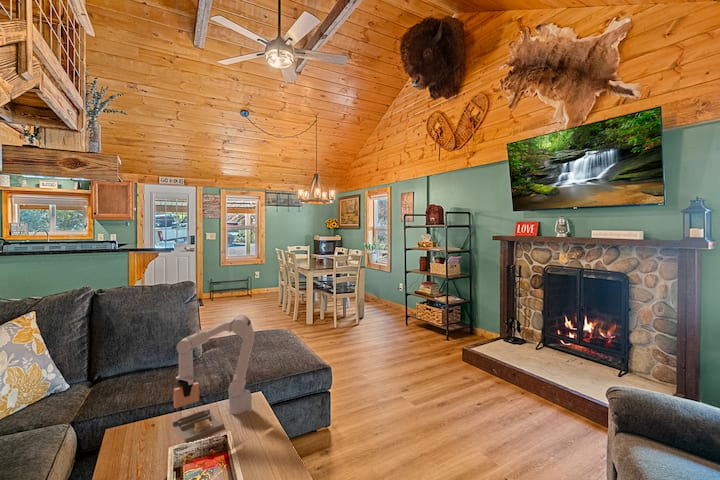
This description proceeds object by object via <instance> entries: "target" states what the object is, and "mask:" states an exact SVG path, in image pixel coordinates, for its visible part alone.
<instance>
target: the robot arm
mask: <svg viewBox="0 0 720 480" xmlns="http://www.w3.org/2000/svg"><path fill="white" fill-rule="evenodd" d="M253 328H254V327H253V325H252V321H251V320H250V319H249V317H248V316H247V315H243V314H240V315H238V316H237V317H233V318H230V319H228V320H225V321H224V322H222V323H220V324H218V325H216V326H214V327H212V328H211V329H208V330H206V329H202V330H201V329H199V330H197V331H196V333H194V334H191V335H188V336H186V337H184V338H183V339H180V341H179V342H178V343H177V345H176V348H175V349H176V351H177V353H178V376H175V380H176V381H177V382H178V384H179V387H182V388H183V394H184V397H187V396H190V393H191V388H192V386H193V384H194V383H196V382H195V381H196V380H195V379H194V361H193V360H194V354H193V352H194V351H193V350H194V349H196V348H197V347H200V346H201V345H203V344H206V343H208V342H209V341H210V338H211V337H214V336H217V335H218V334H221V333H224V332H225V331H226V332H228V333H231V332H233V334H235V335H237V336H238V337H240V338H241V339H242V344H241V348H240V352H239V355H238V360H237V363H236V368H235V372H234V374H233V377H232V378H233V379H232V381H231V382H230V384H229V386H228V389H227V393H228V412H229V414H231V415H240V414H242V413H244V412H246V411H247V412H248V413H252V412H253V409H252V407H253V404H252V403H253V402H252V400H253V399H252V398H253V397H252V394H251V391H250V390H249V389H246V388H245V386H246V384H247V378H246V377H247V369H248V365H249V360H250V357H251V354H252V353H251V352H252V350H253V345H254V341H255V337H256V334H255V331H254V329H253Z"/></svg>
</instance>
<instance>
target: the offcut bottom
mask: <svg viewBox="0 0 720 480" xmlns="http://www.w3.org/2000/svg"><path fill="white" fill-rule="evenodd" d="M211 427H213V425H212V424H211V423H210V427H207V428H204V429H201V430H198V431H196V429H195V428H194V432H195V433H199V432H201V431H204V430H206V429H209V428H211Z"/></svg>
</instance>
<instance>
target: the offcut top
mask: <svg viewBox="0 0 720 480" xmlns="http://www.w3.org/2000/svg"><path fill="white" fill-rule="evenodd" d="M207 427H210V422H209V420H208V419H207V420H204V421H201V422H197V423H195V429H196V431H198V430H201V429H204V428H207Z"/></svg>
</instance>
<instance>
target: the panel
mask: <svg viewBox="0 0 720 480" xmlns="http://www.w3.org/2000/svg"><path fill="white" fill-rule="evenodd" d="M199 401H200V383H199V382H197V381H196V382H194V384H193V386H192V388H191V393H190V396H187V397H184V394H183V388H182V387H180V386H179V387H175V388H173V408H174V409H177V408H180V407H184V406H187V405H190V404H193V403H196V402H199Z"/></svg>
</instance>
